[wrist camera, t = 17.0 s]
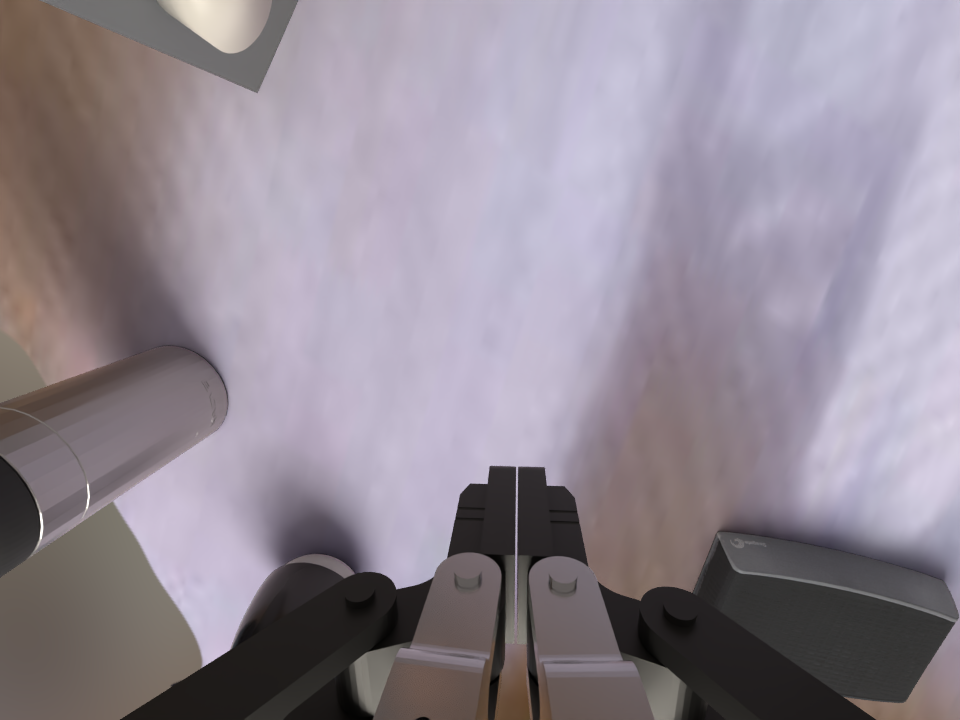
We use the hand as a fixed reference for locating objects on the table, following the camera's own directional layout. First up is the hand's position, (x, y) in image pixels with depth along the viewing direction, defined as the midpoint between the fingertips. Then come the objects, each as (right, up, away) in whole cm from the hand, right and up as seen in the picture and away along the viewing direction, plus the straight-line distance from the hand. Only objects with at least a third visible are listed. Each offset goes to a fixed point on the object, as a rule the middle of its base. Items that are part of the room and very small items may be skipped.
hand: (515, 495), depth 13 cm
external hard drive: (+28, -18, +30) cm, 46 cm away
